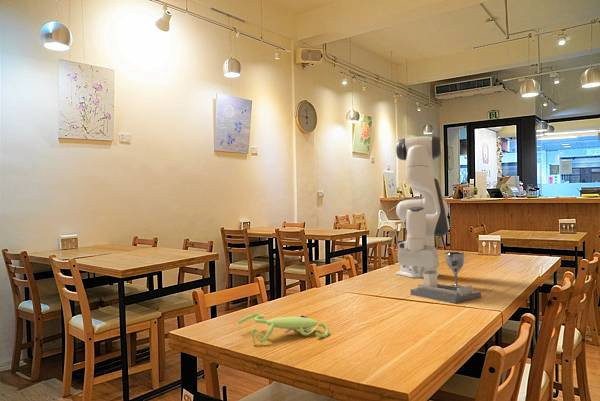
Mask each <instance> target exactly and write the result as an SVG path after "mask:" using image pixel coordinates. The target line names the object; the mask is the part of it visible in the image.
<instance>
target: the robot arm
mask: <svg viewBox="0 0 600 401" xmlns="http://www.w3.org/2000/svg"><path fill="white" fill-rule="evenodd" d="M443 149H444V144H443V142H442V140H441V138H440V137H439V136H435V135H432V136H424V135H423V136H414V137H408V138H401V139H398V141H396V145H395V149H394V150H395V152H394V153H395V155H396V156H397V158H398V159H399V160H401V161H405V177H406V181H407V183H408V184H409V187H410V189H411V190H412V191H414V192H415V193H417V194H420V195H421V196H423V198H419V199H417V198H414V199H412V198H411V199H405V200H401V201H399V202H398V203H397V205H396V206H395V207H396V208H395V212H396V216H397V217H398V219H399V220H401V221H402V222H403V223H404V232H406V240H404V241H402V242H399V243H398V244H397V249H398V250H397V262H398V265H399V270H396V272H395V274H396V275H399V276H404V277H408V278H414V279H415V278H423V279H424V274H425V272H427V271H436V273H437V277H439V276H440V273H439V270H438V268H439V266H440V258H439V252H438V249H437V247H435V237H444V236H445V235H446V234H448V232H449V230H450V221H449V218H448V214H449V205H448V203H447V202H446V200H444V199H443V194H442V191H441V187H440V183H439V180H438V179H437V178H435V177H434V175H433V167H432V160H433V161H434V160H435V159H437V158H439V157H440V156H442V152H443V151H444V150H443ZM431 159H432V160H431Z"/></svg>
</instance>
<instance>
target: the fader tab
mask: <svg viewBox="0 0 600 401" xmlns="http://www.w3.org/2000/svg"><path fill="white" fill-rule="evenodd" d="M438 284H439V283H438V276H437V273H436V271H427V272H425V274H424V278H423V285H425V286H431V287H437V288H438Z"/></svg>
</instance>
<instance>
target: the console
mask: <svg viewBox="0 0 600 401" xmlns="http://www.w3.org/2000/svg"><path fill="white" fill-rule="evenodd" d="M450 285H451V284H443V283H438V288H437V287H431V286H425V285H424V284H417V287H416V288H412V289H410V295H412V296H417V297H421V298H422V297H423V298H427V299H431V300H436V301H441V302H445V303H452V304H458V303H464V302H467V301H471V300H474V299H478V298H482V291H478V290H474V289H473V285H471V284H469V285H463V286H464V287H456V286H450Z"/></svg>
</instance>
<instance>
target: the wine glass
mask: <svg viewBox="0 0 600 401" xmlns="http://www.w3.org/2000/svg"><path fill="white" fill-rule="evenodd" d="M465 258H466V257H465V252H464V251H463V252H462V251H447V252H445V261H446V265H447V267H448V268H449V269H450V270H451V271H452V272H453V274H454V284H449V285H450V286H456V287H464V286H465V285H462V284H458V274H459V272H460V270H461V269H462V268H463V267H464V264H465V260H466V259H465Z"/></svg>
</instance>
